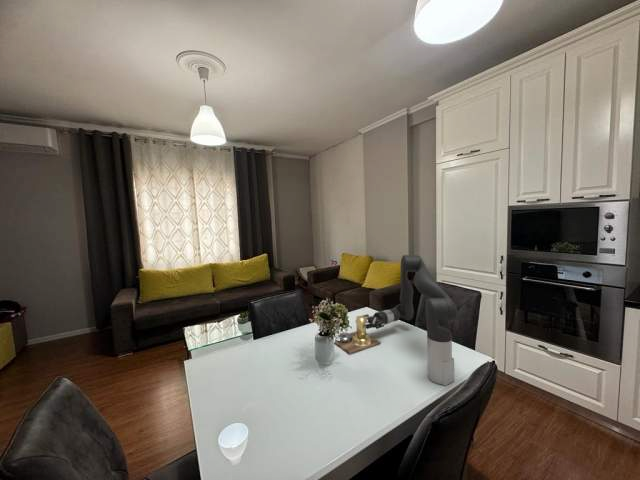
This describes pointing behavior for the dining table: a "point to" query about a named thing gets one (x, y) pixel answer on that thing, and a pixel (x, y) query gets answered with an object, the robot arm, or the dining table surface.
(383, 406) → the dining table surface
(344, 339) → the gear
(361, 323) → the cylinder
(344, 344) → the gear board
